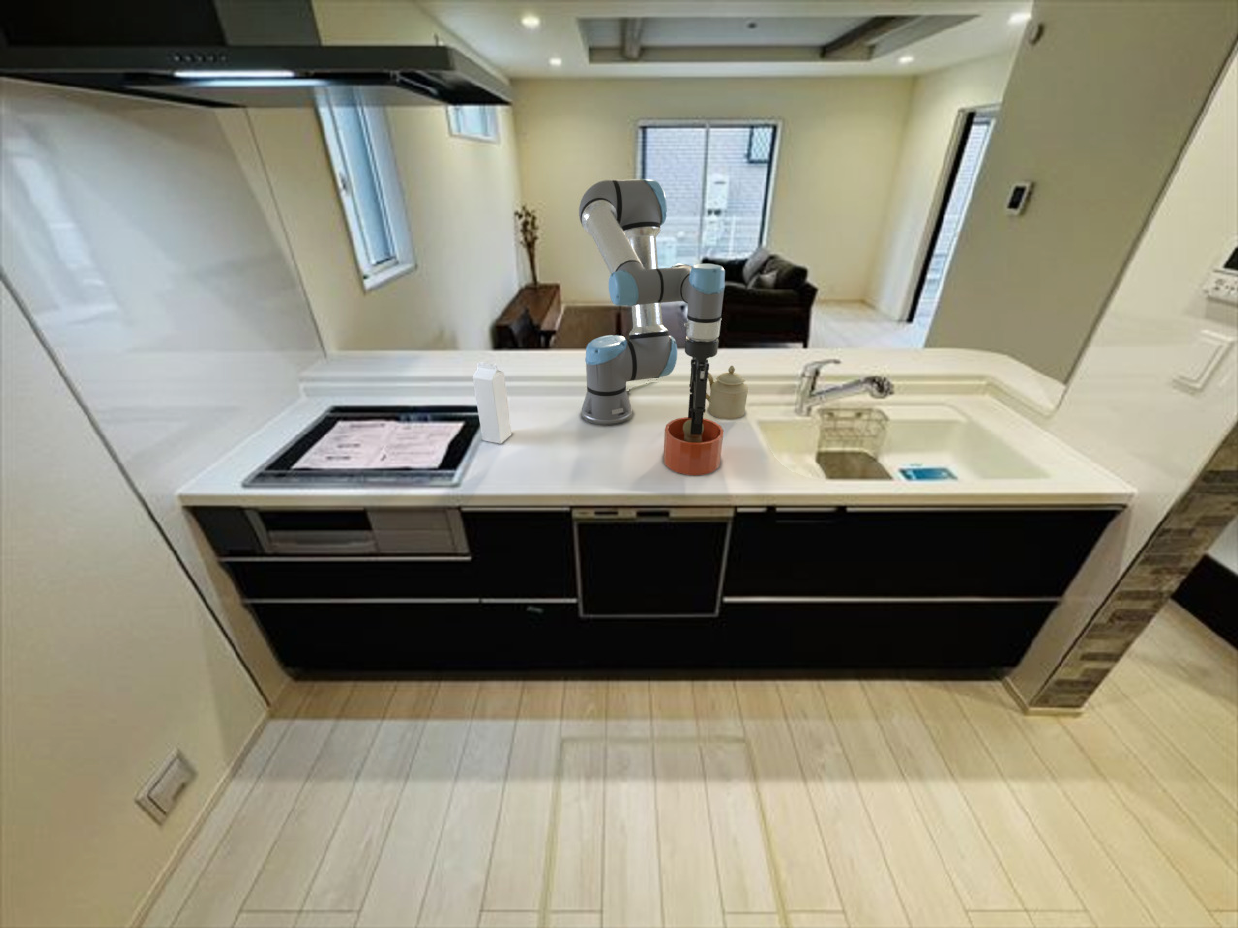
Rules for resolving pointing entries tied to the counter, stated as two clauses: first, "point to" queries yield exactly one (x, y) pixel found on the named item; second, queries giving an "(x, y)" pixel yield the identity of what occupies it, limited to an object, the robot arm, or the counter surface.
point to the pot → (692, 448)
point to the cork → (690, 437)
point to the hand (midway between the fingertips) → (694, 425)
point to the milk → (492, 403)
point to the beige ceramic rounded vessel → (727, 395)
